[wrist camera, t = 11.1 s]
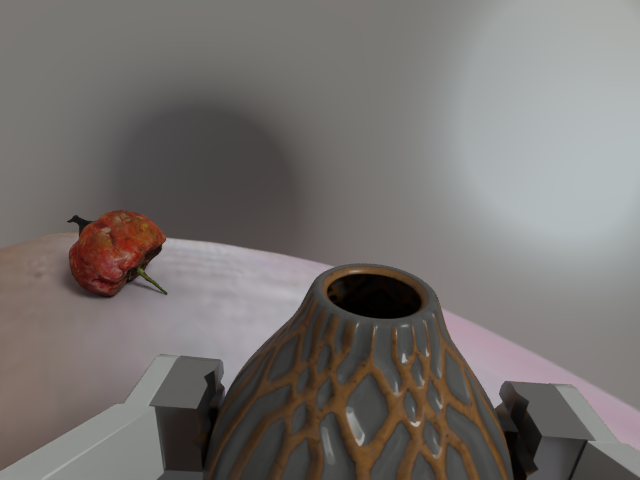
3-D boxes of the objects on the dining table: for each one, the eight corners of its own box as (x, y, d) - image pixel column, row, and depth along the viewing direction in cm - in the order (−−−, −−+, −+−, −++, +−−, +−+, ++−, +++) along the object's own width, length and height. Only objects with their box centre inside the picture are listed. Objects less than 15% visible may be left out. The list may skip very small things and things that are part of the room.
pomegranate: (179, 292, 38) (105, 223, 38) (209, 250, 34) (126, 172, 34) (119, 340, 32) (30, 258, 32) (147, 297, 28) (45, 202, 28)
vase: (196, 496, 12) (170, 240, 9) (383, 433, 15) (416, 217, 11) (241, 888, 6) (214, 557, 3) (540, 670, 9) (698, 364, 6)
